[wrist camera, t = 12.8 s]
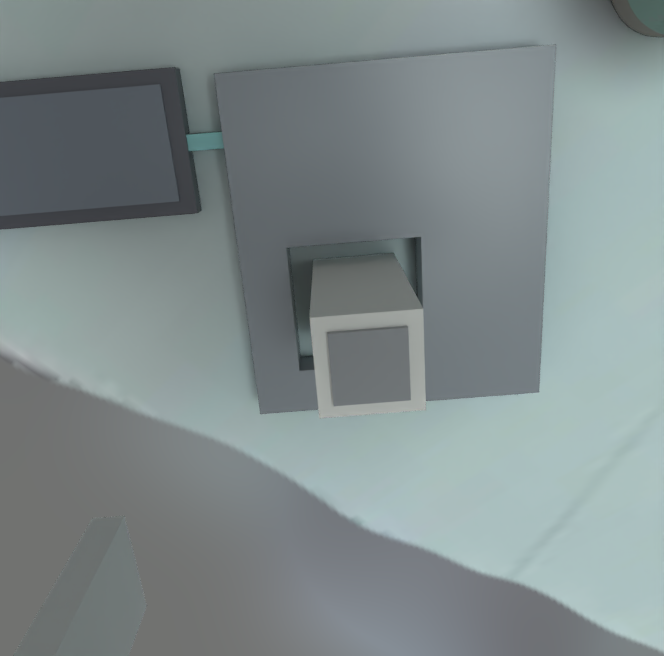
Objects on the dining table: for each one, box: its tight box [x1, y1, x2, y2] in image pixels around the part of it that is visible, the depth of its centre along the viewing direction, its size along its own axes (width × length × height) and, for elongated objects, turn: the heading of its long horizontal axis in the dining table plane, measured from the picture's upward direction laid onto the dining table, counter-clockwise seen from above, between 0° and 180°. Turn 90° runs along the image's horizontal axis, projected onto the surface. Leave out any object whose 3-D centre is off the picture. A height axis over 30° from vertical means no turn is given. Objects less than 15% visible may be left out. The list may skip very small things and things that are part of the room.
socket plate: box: [214, 44, 556, 414], centre depth 31 cm, size 18×16×2 cm
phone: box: [0, 67, 224, 229], centre depth 29 cm, size 7×20×1 cm, turn 94°
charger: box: [310, 253, 426, 418], centre depth 28 cm, size 4×4×10 cm
